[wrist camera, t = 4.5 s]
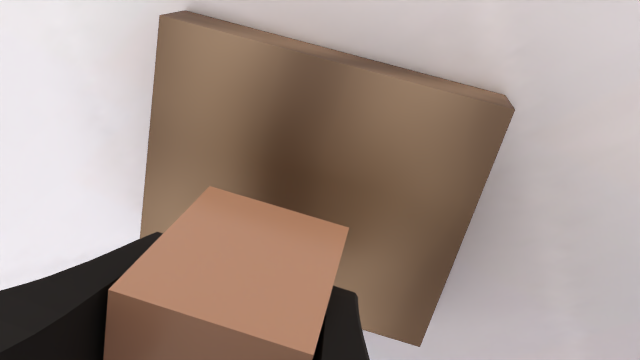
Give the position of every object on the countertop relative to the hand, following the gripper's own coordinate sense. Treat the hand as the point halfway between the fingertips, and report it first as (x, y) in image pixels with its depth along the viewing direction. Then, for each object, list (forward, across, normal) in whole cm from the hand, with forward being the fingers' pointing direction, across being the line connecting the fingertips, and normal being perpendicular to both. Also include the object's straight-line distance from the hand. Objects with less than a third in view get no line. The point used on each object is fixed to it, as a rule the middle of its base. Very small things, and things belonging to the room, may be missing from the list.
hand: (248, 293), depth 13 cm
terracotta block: (+2, 0, 0) cm, 2 cm away
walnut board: (+9, 0, 0) cm, 9 cm away
